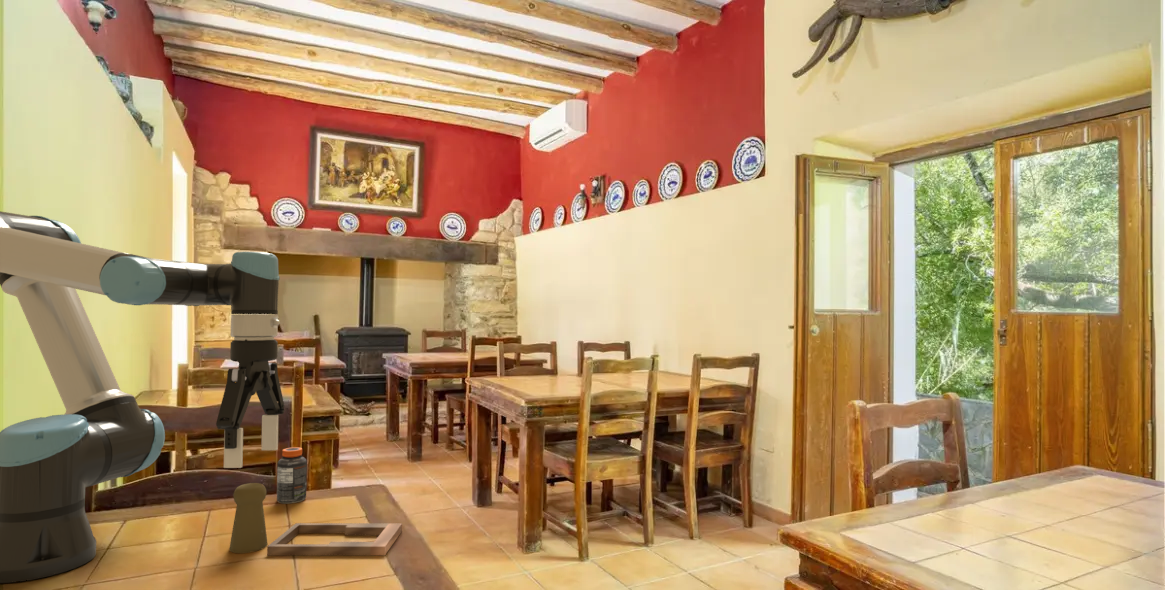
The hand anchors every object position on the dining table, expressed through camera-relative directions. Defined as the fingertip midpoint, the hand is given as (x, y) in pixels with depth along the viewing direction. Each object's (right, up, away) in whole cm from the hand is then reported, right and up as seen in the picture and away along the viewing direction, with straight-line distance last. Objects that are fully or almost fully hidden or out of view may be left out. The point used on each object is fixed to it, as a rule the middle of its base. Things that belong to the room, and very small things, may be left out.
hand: (252, 458), depth 114 cm
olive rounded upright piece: (0, -16, 0) cm, 16 cm away
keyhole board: (+14, -16, +2) cm, 22 cm away
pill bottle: (-6, -16, +27) cm, 32 cm away
